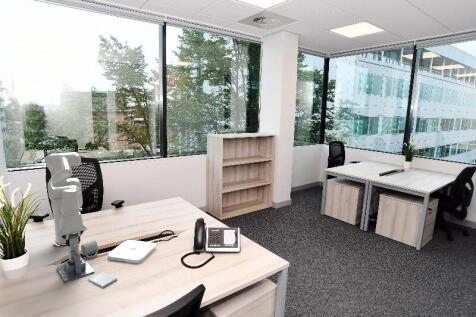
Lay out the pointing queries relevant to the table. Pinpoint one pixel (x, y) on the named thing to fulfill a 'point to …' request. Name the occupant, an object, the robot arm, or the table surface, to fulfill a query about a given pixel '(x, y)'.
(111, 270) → the table surface
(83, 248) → the ceramic mug
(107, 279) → the hard drive
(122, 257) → the computer
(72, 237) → the column
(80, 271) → the stand
